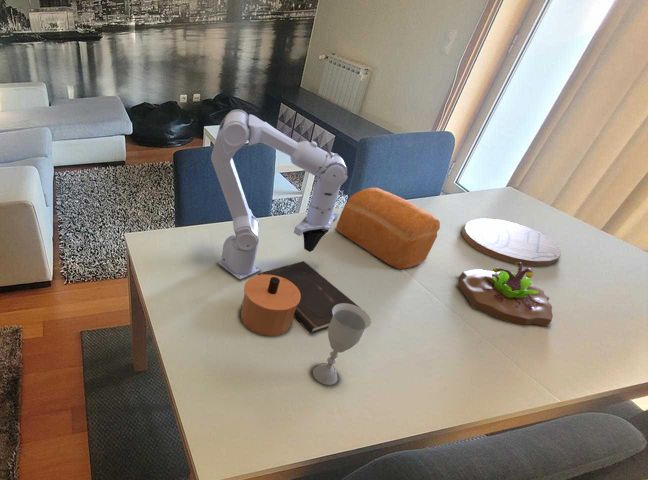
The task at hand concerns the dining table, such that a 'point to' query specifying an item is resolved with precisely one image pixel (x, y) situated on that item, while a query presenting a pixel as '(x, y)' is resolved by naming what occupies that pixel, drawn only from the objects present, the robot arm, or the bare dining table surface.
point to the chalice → (342, 337)
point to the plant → (507, 295)
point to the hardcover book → (312, 295)
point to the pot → (265, 319)
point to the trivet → (511, 242)
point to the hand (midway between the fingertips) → (308, 249)
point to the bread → (389, 227)
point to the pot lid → (272, 292)
